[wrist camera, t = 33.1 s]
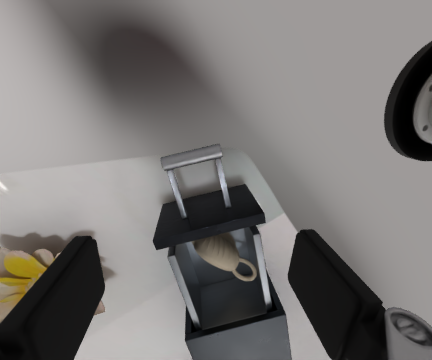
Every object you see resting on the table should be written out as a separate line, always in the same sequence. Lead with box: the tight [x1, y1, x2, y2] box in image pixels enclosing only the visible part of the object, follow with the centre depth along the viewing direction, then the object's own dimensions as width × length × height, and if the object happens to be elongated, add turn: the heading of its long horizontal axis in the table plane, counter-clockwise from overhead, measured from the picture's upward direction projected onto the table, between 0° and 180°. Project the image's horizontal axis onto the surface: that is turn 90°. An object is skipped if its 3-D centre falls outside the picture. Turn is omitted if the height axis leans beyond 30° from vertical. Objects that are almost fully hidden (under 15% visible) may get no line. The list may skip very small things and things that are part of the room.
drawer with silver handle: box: [153, 144, 273, 332], centre depth 26 cm, size 23×11×8 cm, turn 12°
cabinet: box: [185, 270, 292, 360], centre depth 32 cm, size 17×13×10 cm
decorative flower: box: [0, 247, 105, 323], centre depth 26 cm, size 15×11×10 cm
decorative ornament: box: [191, 232, 257, 281], centre depth 27 cm, size 4×8×5 cm, turn 53°
